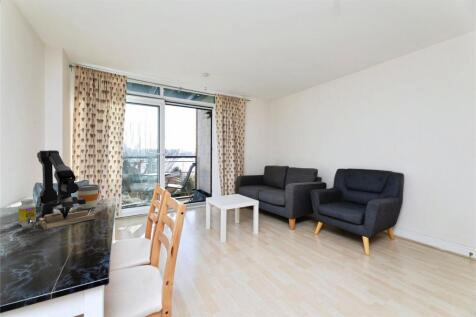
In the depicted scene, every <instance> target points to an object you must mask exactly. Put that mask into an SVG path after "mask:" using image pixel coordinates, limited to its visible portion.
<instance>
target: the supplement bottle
mask: <svg viewBox="0 0 476 317" xmlns="http://www.w3.org/2000/svg"><path fill="white" fill-rule="evenodd" d="M33 202H34V199H33V198H26V199H22V200H20V205H19V206H18V225H19V226H20V225H21V226H22V222H23V221H26V219H28V217H30V220H34V223H36V222H37V219H36V218H37V212H36V210H37V209H36V207H37V204H35V203H33Z"/></svg>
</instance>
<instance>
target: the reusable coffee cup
mask: <svg viewBox="0 0 476 317" xmlns="http://www.w3.org/2000/svg"><path fill="white" fill-rule="evenodd" d="M78 186H79V189H78V191H77V197H78V199H79V198H83V199H85V200H86V204H82V205H80V209H82V210H83V209H92V207H93V208H95V206H96V207H97V201H98V199H99V189H100V188H99V186H100V185H99V184H81V185H78Z"/></svg>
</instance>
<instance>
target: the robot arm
mask: <svg viewBox="0 0 476 317" xmlns="http://www.w3.org/2000/svg"><path fill="white" fill-rule="evenodd" d="M36 157H37V160H38V162H39V163H40V164H41V166H42V167H41V168H42V189H41V191H40V192H39V196H38V197H37V201H36V207H40V213H39V216H40V217H45V216H44V215H49V214H54V213H55V211H54V208H55V209H56V210H58V211H59V213H60V214H61V215H62V216H63V218H64V219H63V220H67V219H66V218H67V215H68V214H69V213H70V211H71V210H72V209H73V208H74V205H76V204H78V205H82V204H86V200H85V199H83V198H79V199H78V195H75V196H72V195H73V194H75V193H78V189H79V186H80V185H78V184H77V183H76V181H77V177H76V175H75V173H74V171H73V170H72V169H71V167H70V166H67V165H66V164H65V162H64V161H63V159H62V157H61V155H60V152H59V150H52V149H51V150H50V149H49V150H39V151H38V152H37V153H36ZM53 168H54V170H53ZM54 179H55V181H56V184H57V190H56V189H55V188H54Z"/></svg>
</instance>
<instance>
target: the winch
mask: <svg viewBox="0 0 476 317" xmlns="http://www.w3.org/2000/svg"><path fill="white" fill-rule="evenodd" d="M33 229H35V222H34V220H30V217H28V219H26V221H23V222H22V225H21V231H22V232H23V231H31V230H33Z"/></svg>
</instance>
